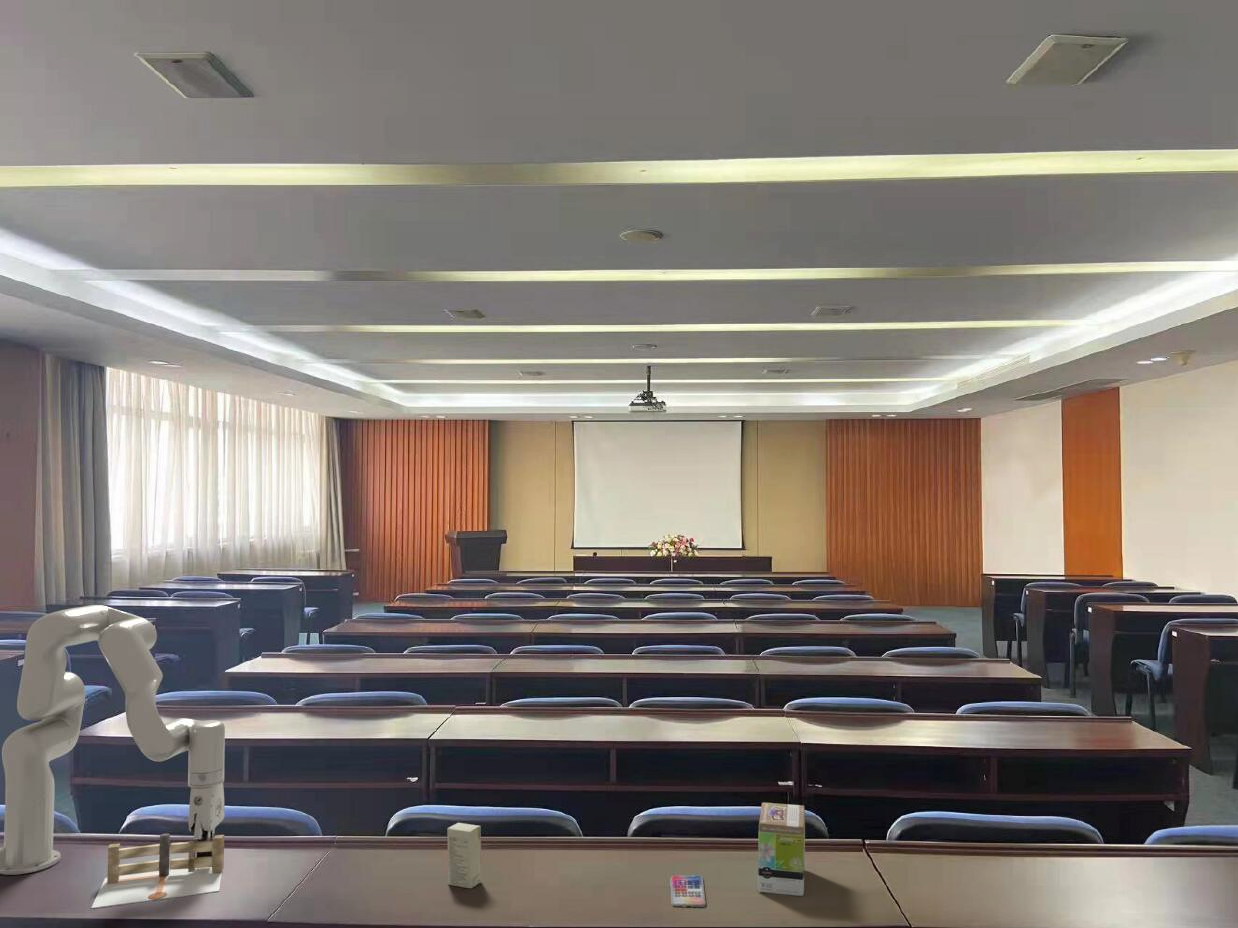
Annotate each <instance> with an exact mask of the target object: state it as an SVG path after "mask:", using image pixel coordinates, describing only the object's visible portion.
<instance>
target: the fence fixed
mask: <svg viewBox="0 0 1238 928" xmlns="http://www.w3.org/2000/svg"><path fill="white" fill-rule="evenodd" d="M170 844H171V834H170V833H162V834H160V835H159V843H156V844H148V845H142V846H141V845H140V846H133V847H132V846H131V847H125V848H124V847H123V848H121V843H119V842H118V843H112V844H109V845H108V847H107V875H106V876H107V877H106V878H107V884H113V883H118V881H119V876H123V875H131V874H139V873H147V872H155V871H159V876H160V877H165V876H168V875H169V870H170ZM152 856H159V859H155V860H150V861H149V860H148V861H140V862H133V863H126V864H125V863H123V864H120V861H121V860H126V859H136V858H145V857H152Z"/></svg>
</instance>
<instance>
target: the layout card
mask: <svg viewBox="0 0 1238 928" xmlns="http://www.w3.org/2000/svg"><path fill="white" fill-rule="evenodd" d="M222 875H223V871H222V872H214V873H212V867H208V868H195V871H194V872H188V869H175V870H170V869H169V875H168V876H165V877H160V876H159V871H153V872H145V873H137V874H130V875H122V876H119V881H118V883H113V884H107V877H105V878H104V880H103V882H102V884H101V886H100V888H99V891H98V892H97V894H96V898H95V899H94V902H93V903H92V906H91V909H93V910H94V909H101V908H107V907H108V908H109V907H115V906H121V905H129V904H137V903H144V902H152V901H159V900H167V899H173V898H182V897H189V896H194V895H195V896H197V895H202V894H203V895H205V894H211V893H216V892H217V893H218V892H220V888H221V882H222Z"/></svg>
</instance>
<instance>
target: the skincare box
mask: <svg viewBox="0 0 1238 928" xmlns="http://www.w3.org/2000/svg"><path fill="white" fill-rule="evenodd" d="M481 827H482V826H481V825H476V824H472V823H471V824H470V823H464V822H457V823H455V824H453V825H451V826H449V827H446V828H447V833H446V834H447V835H446V836H447V884H448V885H449V886H455V887H460V888H466V889H472V888H474V887H476V886H477V885H478V884H480V883H481V882H482V837H481V831H482V829H481Z"/></svg>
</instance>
